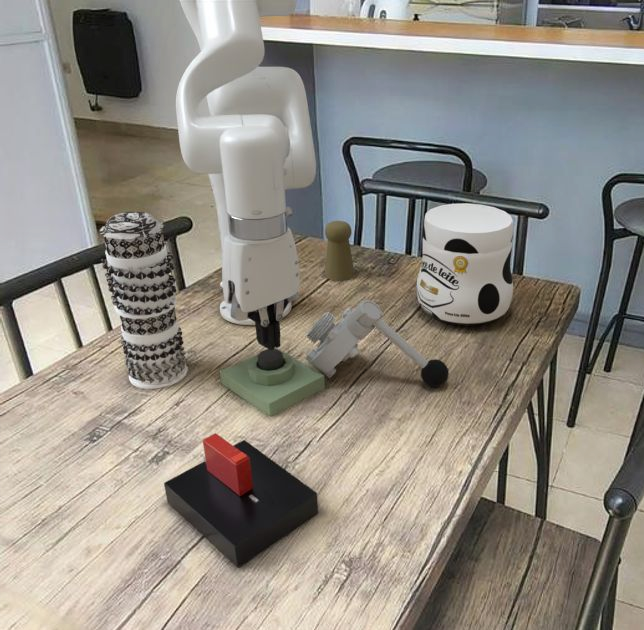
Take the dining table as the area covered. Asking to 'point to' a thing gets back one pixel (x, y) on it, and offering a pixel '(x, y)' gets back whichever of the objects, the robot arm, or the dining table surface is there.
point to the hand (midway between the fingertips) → (269, 345)
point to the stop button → (270, 359)
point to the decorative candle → (144, 299)
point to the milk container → (466, 264)
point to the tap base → (242, 506)
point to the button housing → (272, 383)
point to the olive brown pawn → (338, 251)
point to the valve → (354, 327)
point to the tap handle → (228, 464)
